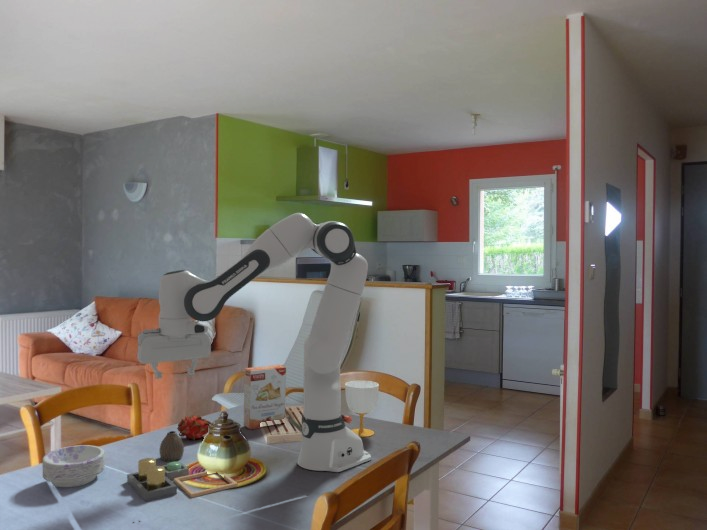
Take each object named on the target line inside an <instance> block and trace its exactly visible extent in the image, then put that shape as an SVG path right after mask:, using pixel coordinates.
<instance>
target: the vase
mask: <svg viewBox="0 0 707 530" xmlns="http://www.w3.org/2000/svg"><path fill="white" fill-rule="evenodd" d="M184 452H185V446H184V443H183V440H182V438H181V436H179V434H178V433H177V431H175V430H170V431H168V432H167V434H166V435H165V437H164V438H163V439H162V441H161V443H160V445H159V457H160V459H161V460H162V461H163V462H168V463H170V462H178V461H179V460H181V459H182V458H183V456H184Z"/></svg>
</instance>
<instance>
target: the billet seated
mask: <svg viewBox="0 0 707 530" xmlns="http://www.w3.org/2000/svg"><path fill="white" fill-rule="evenodd" d="M137 463H138V466H137V467H138V471H137V472H138V481H139V482H142V481H146V480H147V469H148V468H149V467H153V466H157V459H156V458H154V457H145V458H142V459H139V460H138V461H137Z"/></svg>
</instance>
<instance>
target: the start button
mask: <svg viewBox="0 0 707 530" xmlns="http://www.w3.org/2000/svg"><path fill="white" fill-rule="evenodd" d="M181 463H182V461H171V462H168V463H166V465H167V471H169V472H170V471H174V470H179V469H181Z"/></svg>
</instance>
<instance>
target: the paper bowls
mask: <svg viewBox="0 0 707 530" xmlns="http://www.w3.org/2000/svg"><path fill="white" fill-rule="evenodd" d="M105 454H106V451H105V450H104V449H103V448H102V447H100V446H97V445H91V444H79V445H78V444H77V445H76V444H75V445H71V446H65V447H60V448H56V449H55V450H51V451H50V452H48V453H46V454H45V455H44V456H43V457H42V478H43V480H44V481H46V482H49V483H51V484H52V485H53V487H54V488H57V487H58V488H73V487H79V486H84V485H86V484H90V483H91V482H93V481H94V480H95V479H96V478H97V476H98V475H100V474H102V473H103V472H104V471H105V467H106V460H105V458H106V456H105Z"/></svg>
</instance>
